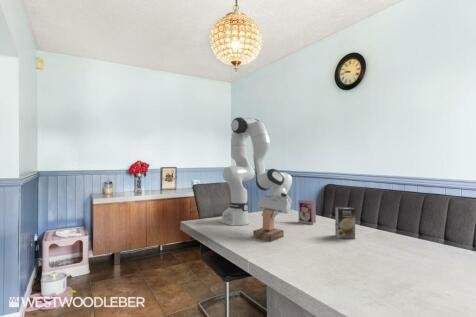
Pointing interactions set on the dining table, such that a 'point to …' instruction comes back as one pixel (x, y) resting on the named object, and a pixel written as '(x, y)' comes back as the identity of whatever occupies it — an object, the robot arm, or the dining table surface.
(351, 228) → the coffee box
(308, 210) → the greeting card
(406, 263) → the dining table surface
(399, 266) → the dining table surface
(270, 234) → the base block
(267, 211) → the pillar block
